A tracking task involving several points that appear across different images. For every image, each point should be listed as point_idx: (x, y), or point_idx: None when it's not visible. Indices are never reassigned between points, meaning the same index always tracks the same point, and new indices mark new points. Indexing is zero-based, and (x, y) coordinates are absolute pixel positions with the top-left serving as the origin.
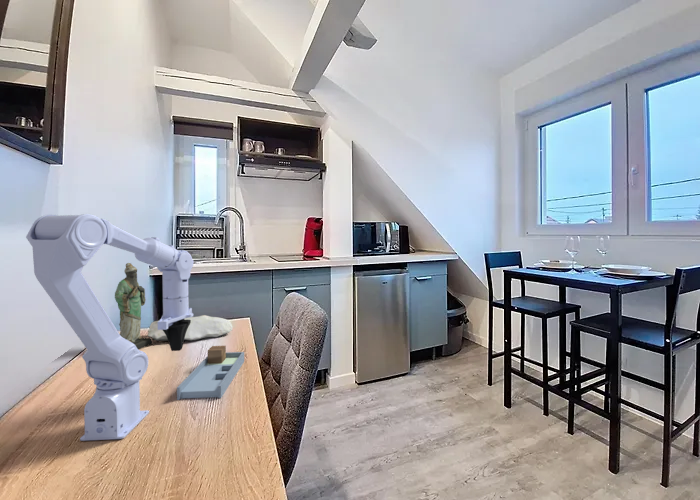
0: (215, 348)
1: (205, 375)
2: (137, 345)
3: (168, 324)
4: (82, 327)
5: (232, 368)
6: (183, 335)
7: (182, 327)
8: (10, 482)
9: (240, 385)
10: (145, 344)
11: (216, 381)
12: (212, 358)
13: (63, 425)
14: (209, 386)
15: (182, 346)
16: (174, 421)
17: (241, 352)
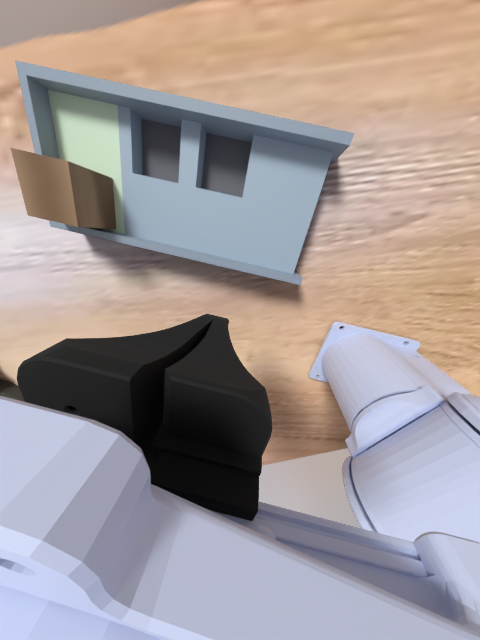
0: (52, 195)
1: (202, 222)
2: (23, 400)
3: (352, 562)
4: None
5: (197, 102)
6: (193, 337)
7: (263, 394)
8: None
9: (266, 82)
10: (9, 388)
11: (257, 174)
12: (101, 210)
13: (312, 417)
14: (288, 194)
15: (204, 315)
16: (403, 264)
17: (24, 77)
